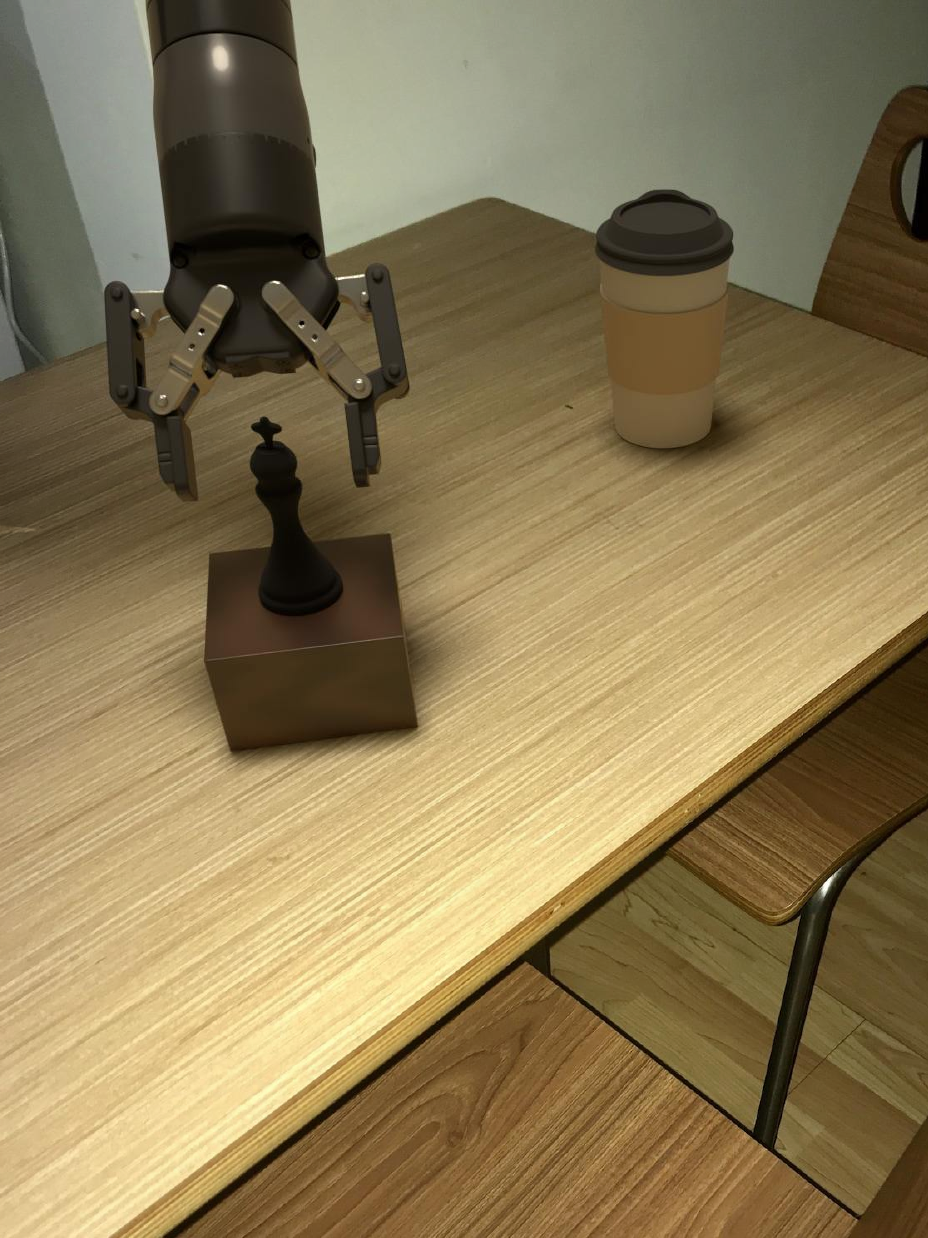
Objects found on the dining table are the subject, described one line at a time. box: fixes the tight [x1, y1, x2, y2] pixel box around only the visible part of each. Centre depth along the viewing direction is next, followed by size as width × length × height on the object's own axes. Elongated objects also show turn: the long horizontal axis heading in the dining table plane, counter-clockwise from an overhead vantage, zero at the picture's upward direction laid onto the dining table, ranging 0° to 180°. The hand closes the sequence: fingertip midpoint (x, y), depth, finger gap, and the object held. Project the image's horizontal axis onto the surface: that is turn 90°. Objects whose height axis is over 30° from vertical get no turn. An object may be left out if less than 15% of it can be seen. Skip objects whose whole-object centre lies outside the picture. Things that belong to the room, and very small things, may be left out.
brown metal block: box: [203, 532, 419, 752], centre depth 73 cm, size 10×10×6 cm
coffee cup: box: [594, 188, 735, 449], centre depth 90 cm, size 9×9×15 cm
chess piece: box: [249, 415, 343, 615], centre depth 67 cm, size 4×4×10 cm
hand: (275, 490), depth 66 cm, fingers open, 8 cm apart
